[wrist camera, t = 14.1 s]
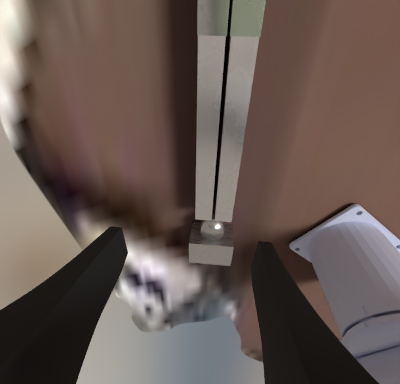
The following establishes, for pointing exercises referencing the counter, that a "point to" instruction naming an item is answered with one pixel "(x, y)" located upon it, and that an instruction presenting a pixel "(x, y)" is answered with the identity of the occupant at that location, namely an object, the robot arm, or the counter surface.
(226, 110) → the bar
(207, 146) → the arm
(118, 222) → the counter surface
